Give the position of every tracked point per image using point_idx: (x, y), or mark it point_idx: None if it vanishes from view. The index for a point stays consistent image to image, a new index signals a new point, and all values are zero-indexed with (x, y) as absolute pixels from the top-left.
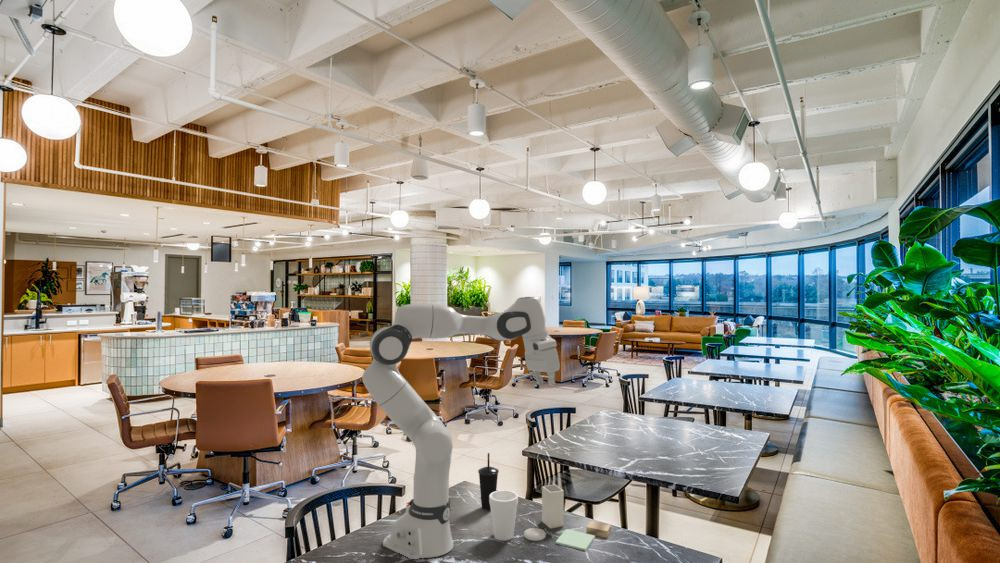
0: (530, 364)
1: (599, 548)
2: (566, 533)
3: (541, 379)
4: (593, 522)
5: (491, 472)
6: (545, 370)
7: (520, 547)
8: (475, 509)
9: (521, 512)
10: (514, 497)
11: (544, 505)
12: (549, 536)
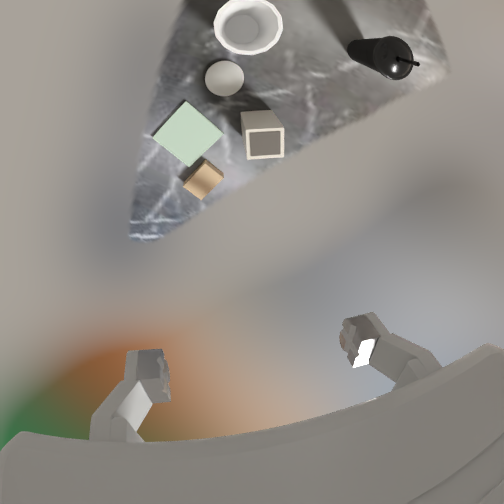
0: (469, 412)
1: (156, 158)
2: (208, 128)
3: (350, 352)
4: (216, 179)
5: (379, 55)
6: (85, 453)
7: (191, 43)
8: (360, 29)
9: (317, 92)
10: (250, 50)
11: (266, 118)
12: (213, 100)
